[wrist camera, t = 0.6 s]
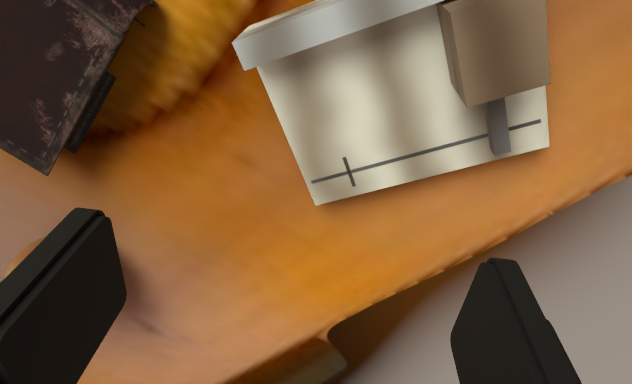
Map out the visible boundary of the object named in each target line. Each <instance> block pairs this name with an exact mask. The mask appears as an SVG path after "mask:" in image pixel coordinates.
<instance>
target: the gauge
mask: <svg viewBox="0 0 632 384" xmlns="http://www.w3.org/2000/svg"><path fill="white" fill-rule="evenodd" d="M436 6H437V11H438V16H439V22H440V27H441V32H442V38H443V43H444V48H445V54H446V59H447V64H448V70H449V75H450V80H451V84H452V85H453V87H454V89H455V90H456V92H457V93H458V95H459V97H460V98H461V100H462V101H463V103H464V104H465V106H466V108H469V107H472V106H475V105H479V104H482V103H483V104H484V111H485V117H486V124H487V131H488V137H489V144H490V149H491V151H492V153H493V154H494V156H497V155H501V154H505V153H509V152H511V146H510V138H509V130H508V122H507V113H506V105H505V97H507V96H510V95H514V94H517V93H521V92H524V91H528V90H531V89H535V88H538V87H542V86H545V85H549V84H551V81H550V64H549V48H548V31H547V15H546V0H444V1H441V2H438V3H436Z"/></svg>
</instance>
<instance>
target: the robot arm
mask: <svg viewBox="0 0 632 384" xmlns="http://www.w3.org/2000/svg"><path fill="white" fill-rule="evenodd" d="M126 295H127V293H126V287H125V283H124V278H123V273H122V269H121V264H120V260H119V255H118V251H117V246H116V241H115V237H114V232H113V228H112V223H111V220H110V218H109V217H105V214H104V213H103V212H102V211H100V210H94V209H86V208H75V209H74V210H72V211H71V212H70V213H69V214H68V215H67V216H66V217H65V218H64V219H63V220H62V221H61V222H60V223H59V224H58V225H57V226H56V227H55V228H54V229H53V230H52V231H51V232H50V233H49V234H48V235H47V236H46V237H45V238H44V239H43V240H42V241H41V242H40V243H39V245H38V246H37V247H36V248H35V249H34V250H33V251H32V252H31V253H30V254H29V255H28V256H27V257H26V258H25V259H24V260H23V261H22V262H21V263H20V264H19V265H18V266H17V267H16V268H15V269H14V270H13V271H12V272H11V273H10V274H9V275H8V276H7V277H6V278H5V279H4V280H3V281H2V282H1V283H0V384H76V383H77V382H78V380H79V379H80V377H81V375H82V374H83V372H84V370H85V369H86V367H87V365H88V364H89V362H90V360H91V359H92V357H93V355H94V354H95V352H96V350H97V349H98V347H99V346H100V344H101V342H102V341H103V339H104V337H105V336H106V334H107V332H108V331H109V329H110V327H111V326H112V324H113V322H114V321H115V319H116V317H117V316H118V314H119V312H120V311H121V309H122V308H123V306H124V304H125V301H126ZM451 348H452V352H453V357H454V361H455V364H456V369H457V373H458V377H459V381H460V384H582V383H581V381H580V379H579V377H578V375H577V373H576V371H575V369H574V368H573V366H572V363H571V361H570V360H569V358H568V356H567V354H566V352H565V350H564V348H563V346H562V344H561V342H560V340H559V338H558V336H557V334H556V332H555V330H554V328H553V326H552V325H551V323H550V322H549V321H548V320H547V319H546V318H545V317H544V315H543V313H542V311H541V309H540V307H539V305H538V303H537V301H536V299H535V297H534V295H533V293H532V291H531V289H530V287H529V285H528V283H527V281H526V279H525V277H524V275H523V273H522V271H521V269H520V267H519V265H518V263H517V262H516V261H514V260H508V259H499V258H490V259H489V260H488V261H487V263H484V262H483V263H481V264H480V266H479V268H478V270H477V272H476V275H475V277H474V280H473V282H472V284H471V287H470V289H469V291H468V294H467V296H466V298H465V301H464V303H463V306H462V308H461V310H460V313H459V315H458V318H457V320H456V322H455V325H454V327H453V329H452V332H451Z"/></svg>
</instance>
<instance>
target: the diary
mask: <svg viewBox="0 0 632 384" xmlns="http://www.w3.org/2000/svg"><path fill="white" fill-rule="evenodd" d="M148 5H151V6H153V7H157V3H156V2H155V1H154V0H0V148H1V149H2V150H4V151H6V152H8V153H9V154H11V155H13V156H14V157H16V158H18V159H19V160H21V161H23V162H24V163H26V164H28V165H29V166H31V167H33V168H34V169H36V170H38V171H39V172H41V173H43V174H44V175H46V176H48V175H49V173H50V171H51V170H52V168H53V166H54V164H55V162H56V160H57V158H58V156H59V154H60V153H61V151H62V149H63V147H65V148H66V149H68V150H69V151H71V152H73V153H75V154H76V152H77V150H78V148H79V146H80V145H81V143H82V141H83V139H84V137H85V135H86V133H87V132H88V130H89V128H90V126H91V124H92V122H93V120H94V119H95V117H96V115H97V113H98V111H99V109H100V107H101V106H102V104H103V102H104V100H105V98H106V96H107V94H108V93H109V91H110V89H111V87H112V85H113V83H114V81H115V80H116V77H114V76H113V75H111V74H110V73H108V72H107V70H108V68H109V66H110V64H111V62H112V60H113V59H114V57H115V55H116V53H117V51H118V49H119V47H120V45H121V44H122V42H123V40H124V38H125V36H126V34H127V32H128V30H129V27H130V25H131V23H132V21H133V20H136V21H137V22H138V23H140V24H141V25H142V26H143V27H145V25H144V24H142V23H141V22H140V21H139V20H137V19H136V18H135V17H136V15H137V14H138V13H139V12H140V11H141V10H143V9H144V8H145V7H146V6H148Z"/></svg>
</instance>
